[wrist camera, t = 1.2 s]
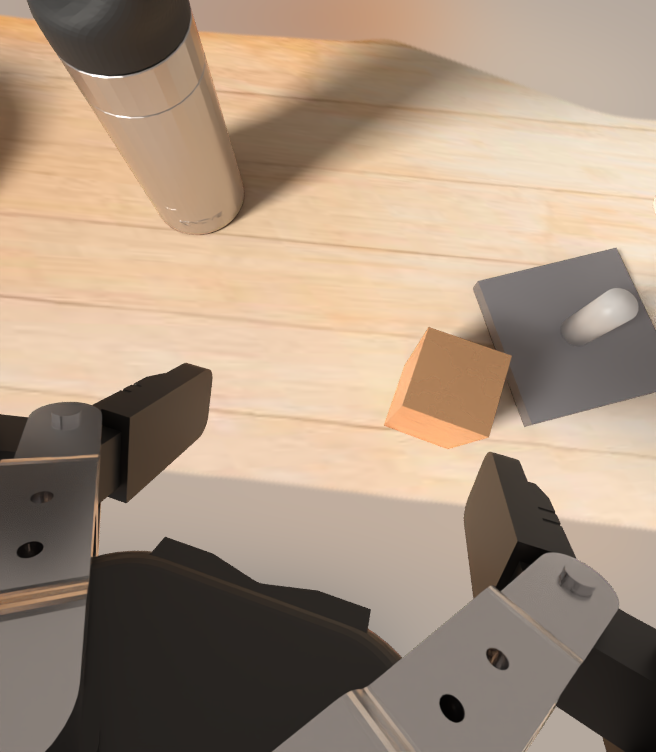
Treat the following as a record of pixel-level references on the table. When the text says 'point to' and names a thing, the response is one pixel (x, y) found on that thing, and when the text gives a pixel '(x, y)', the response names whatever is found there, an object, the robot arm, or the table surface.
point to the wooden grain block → (448, 390)
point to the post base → (550, 355)
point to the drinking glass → (654, 205)
